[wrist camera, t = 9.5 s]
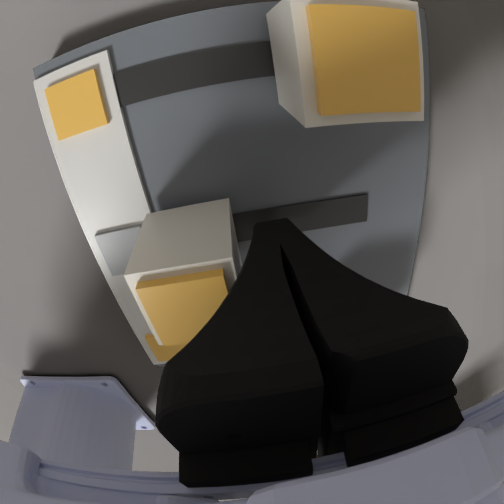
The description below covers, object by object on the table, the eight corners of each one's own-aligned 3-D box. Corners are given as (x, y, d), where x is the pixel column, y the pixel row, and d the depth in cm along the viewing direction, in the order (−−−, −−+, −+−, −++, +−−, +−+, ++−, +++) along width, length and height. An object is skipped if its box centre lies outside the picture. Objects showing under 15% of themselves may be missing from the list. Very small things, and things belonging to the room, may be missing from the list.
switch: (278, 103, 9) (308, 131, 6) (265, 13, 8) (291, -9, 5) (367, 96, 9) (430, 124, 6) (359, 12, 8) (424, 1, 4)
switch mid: (169, 278, 13) (157, 352, 10) (146, 213, 11) (121, 282, 8) (242, 266, 13) (250, 341, 10) (228, 197, 11) (232, 264, 8)
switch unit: (159, 350, 18) (156, 372, 17) (48, 65, 9) (27, 69, 8) (392, 311, 18) (402, 330, 17) (408, 10, 9) (430, 8, 7)
